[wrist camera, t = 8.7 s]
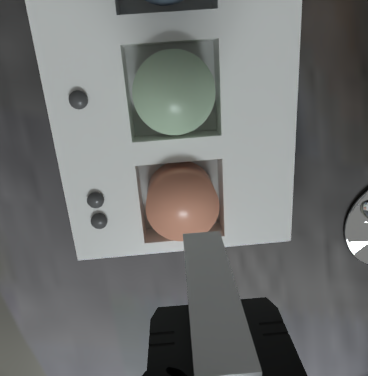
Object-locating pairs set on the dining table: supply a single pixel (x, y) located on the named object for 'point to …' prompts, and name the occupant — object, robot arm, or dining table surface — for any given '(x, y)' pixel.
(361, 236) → the wineglass
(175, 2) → the slate button
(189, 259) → the robot arm
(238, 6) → the button panel
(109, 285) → the dining table surface
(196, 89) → the sage button
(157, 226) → the terracotta button
